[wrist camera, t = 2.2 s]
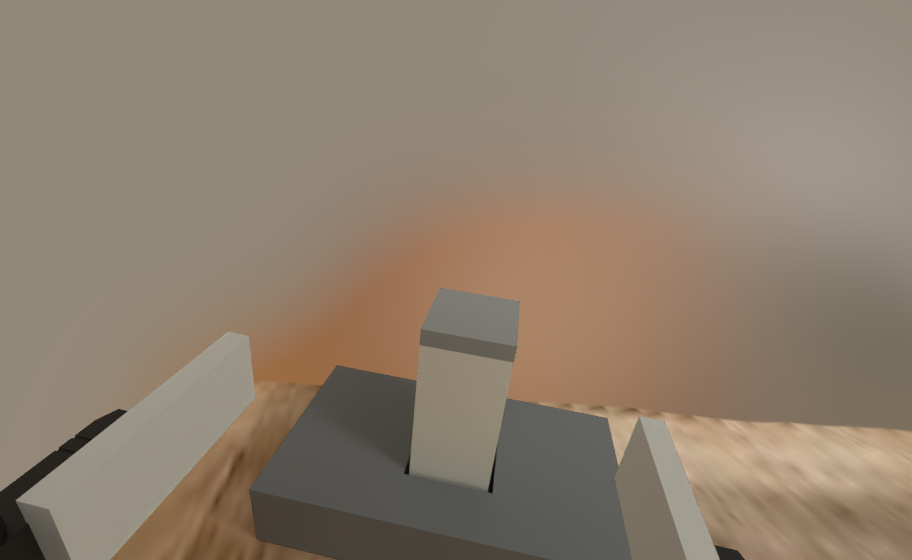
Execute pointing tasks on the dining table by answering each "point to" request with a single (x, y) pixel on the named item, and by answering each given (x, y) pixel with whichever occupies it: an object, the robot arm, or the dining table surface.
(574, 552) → the plate with square hole
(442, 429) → the plug
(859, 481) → the dining table surface
